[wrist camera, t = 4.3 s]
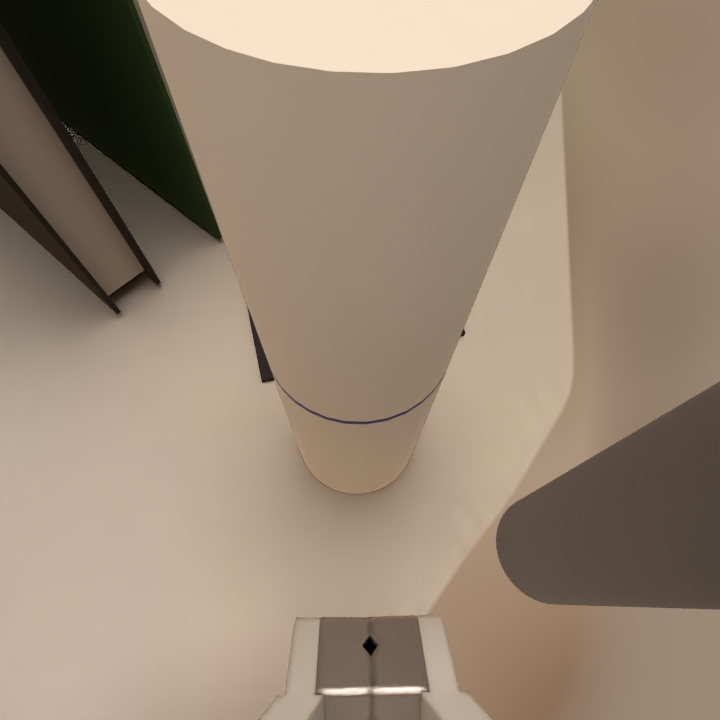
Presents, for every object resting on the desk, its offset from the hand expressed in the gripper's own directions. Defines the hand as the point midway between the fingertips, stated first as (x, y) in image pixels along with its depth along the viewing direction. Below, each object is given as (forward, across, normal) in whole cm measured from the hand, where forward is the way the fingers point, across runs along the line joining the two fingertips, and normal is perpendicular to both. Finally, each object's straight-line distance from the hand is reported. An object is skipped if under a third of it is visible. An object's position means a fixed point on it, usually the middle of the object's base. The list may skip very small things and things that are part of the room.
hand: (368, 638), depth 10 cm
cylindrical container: (+19, 0, +5) cm, 20 cm away
